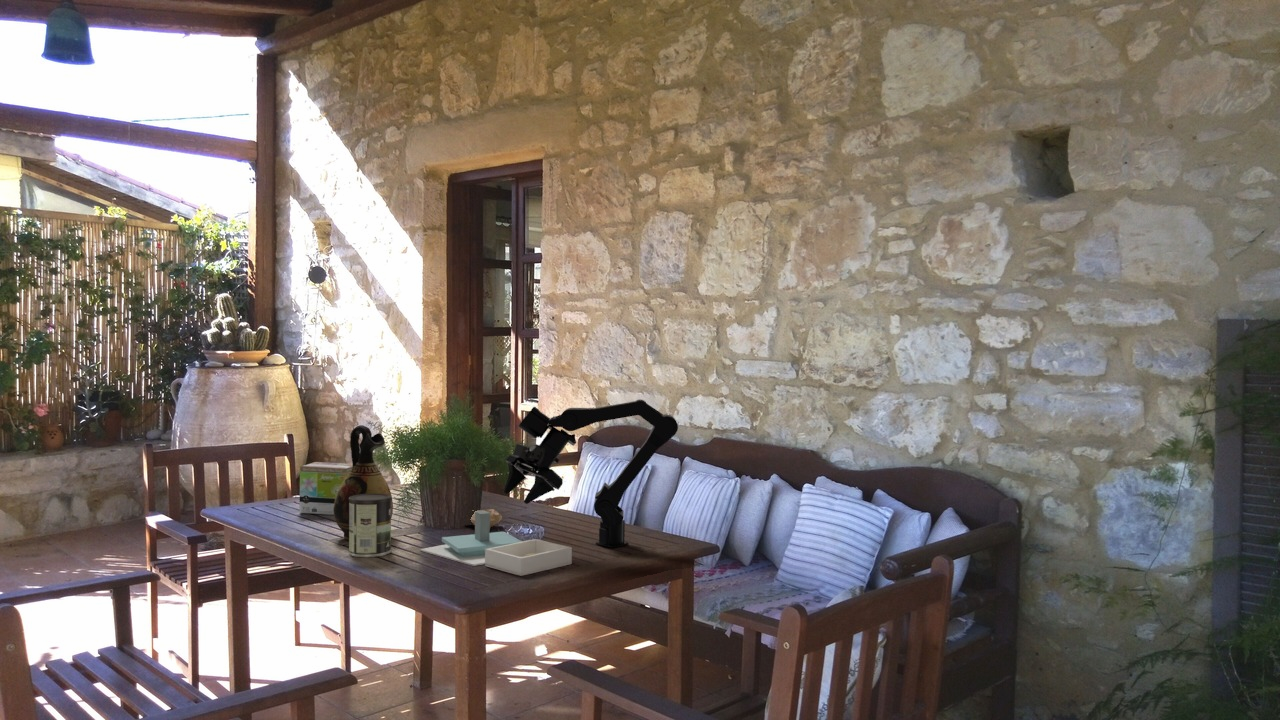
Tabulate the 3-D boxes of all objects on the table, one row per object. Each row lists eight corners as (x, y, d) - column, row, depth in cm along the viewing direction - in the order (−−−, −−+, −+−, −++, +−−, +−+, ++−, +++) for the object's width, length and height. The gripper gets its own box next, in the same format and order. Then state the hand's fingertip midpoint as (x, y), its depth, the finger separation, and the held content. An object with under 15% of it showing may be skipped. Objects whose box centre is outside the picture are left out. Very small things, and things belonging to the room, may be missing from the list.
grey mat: (488, 537, 249) (488, 536, 249) (543, 551, 234) (543, 549, 234) (420, 550, 233) (420, 549, 233) (474, 566, 218) (474, 564, 218)
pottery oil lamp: (470, 520, 270) (482, 499, 271) (497, 539, 263) (509, 518, 264) (452, 514, 263) (464, 493, 264) (479, 534, 256) (491, 512, 257)
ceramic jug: (404, 537, 248) (405, 426, 247) (354, 546, 236) (355, 430, 235) (367, 528, 259) (368, 422, 258) (318, 537, 247) (319, 425, 246)
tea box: (298, 514, 278) (298, 465, 277) (314, 508, 288) (314, 461, 287) (345, 516, 276) (346, 467, 275) (360, 510, 286) (360, 462, 285)
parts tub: (535, 554, 230) (535, 538, 230) (571, 563, 222) (571, 547, 222) (484, 565, 219) (485, 549, 218) (520, 575, 210) (521, 558, 210)
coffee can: (385, 546, 237) (385, 492, 237) (395, 555, 228) (396, 498, 228) (344, 550, 232) (344, 494, 232) (353, 559, 223) (353, 501, 223)
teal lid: (503, 540, 244) (504, 505, 243) (523, 551, 232) (523, 514, 231) (441, 547, 236) (441, 510, 235) (458, 558, 223) (458, 519, 223)
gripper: (511, 424, 243) (476, 472, 238) (553, 439, 230) (516, 491, 225) (536, 447, 250) (502, 494, 245) (578, 464, 236) (543, 514, 231)
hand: (514, 498), depth 236 cm, fingers open, 9 cm apart
